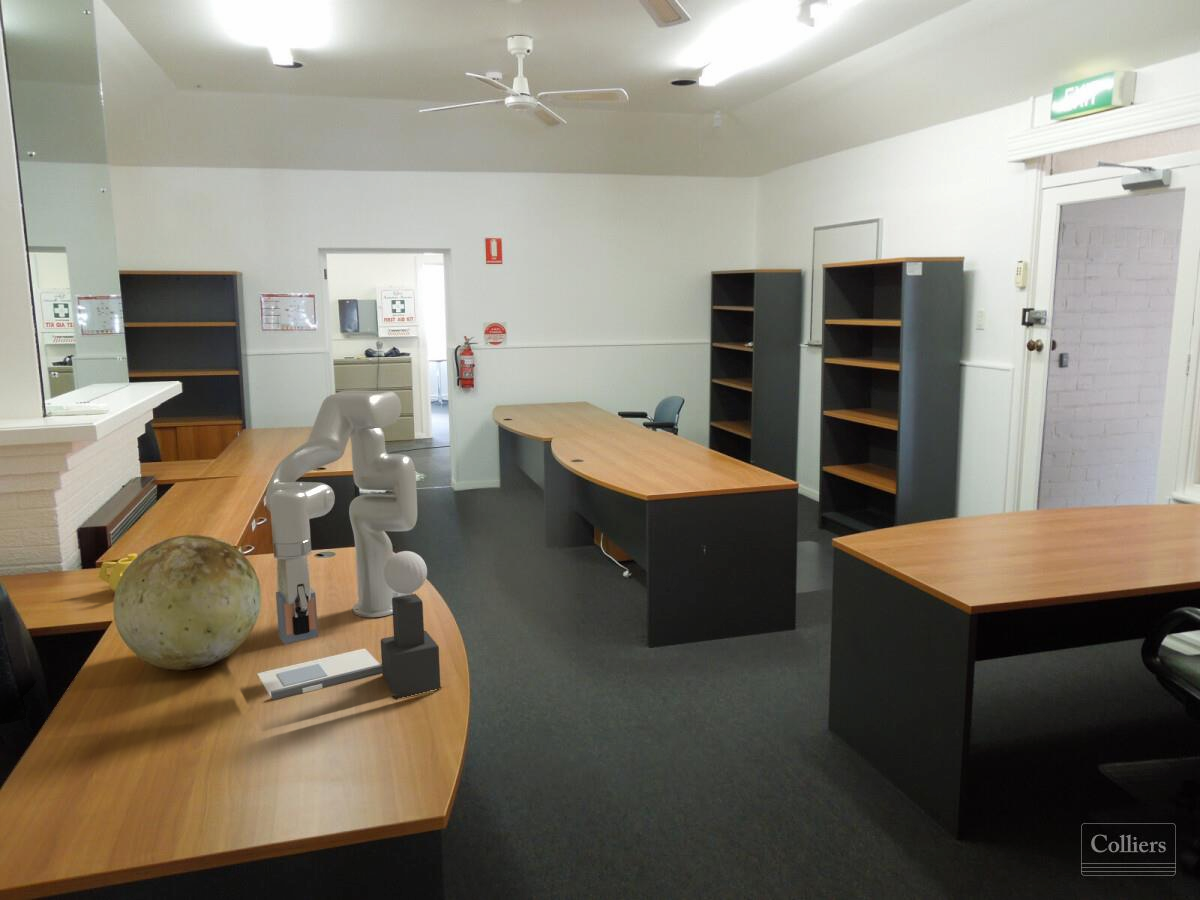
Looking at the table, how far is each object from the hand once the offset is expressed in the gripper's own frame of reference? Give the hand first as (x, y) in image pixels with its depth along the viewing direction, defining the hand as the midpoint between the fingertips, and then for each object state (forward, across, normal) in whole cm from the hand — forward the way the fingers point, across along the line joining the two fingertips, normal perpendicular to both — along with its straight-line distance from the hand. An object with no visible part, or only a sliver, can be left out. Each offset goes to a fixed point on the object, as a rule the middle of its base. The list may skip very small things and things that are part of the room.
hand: (298, 628), depth 181 cm
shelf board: (+12, 0, +4) cm, 13 cm away
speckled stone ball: (+13, -24, -18) cm, 32 cm away
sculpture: (+13, +15, +19) cm, 28 cm away
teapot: (+12, -88, -25) cm, 92 cm away
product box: (+2, 0, 0) cm, 2 cm away
